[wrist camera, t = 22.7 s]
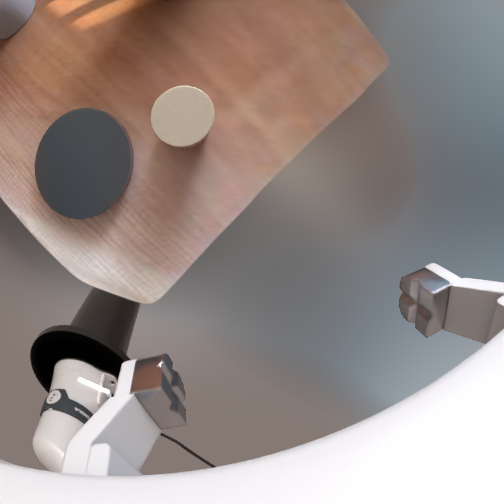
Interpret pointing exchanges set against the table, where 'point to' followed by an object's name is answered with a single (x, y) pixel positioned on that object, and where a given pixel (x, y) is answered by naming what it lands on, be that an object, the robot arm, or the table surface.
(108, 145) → the slate plate
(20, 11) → the coffee mug
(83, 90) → the table surface
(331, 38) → the table surface
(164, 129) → the cream canister
